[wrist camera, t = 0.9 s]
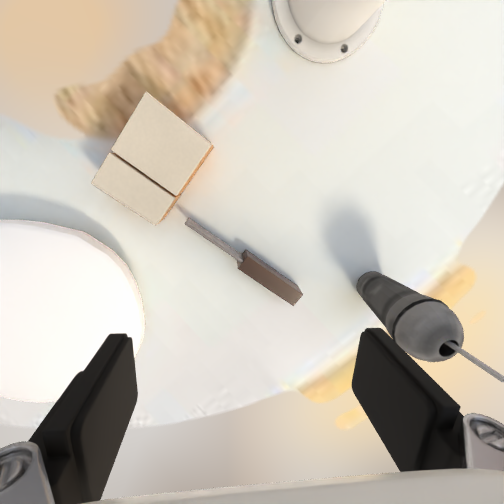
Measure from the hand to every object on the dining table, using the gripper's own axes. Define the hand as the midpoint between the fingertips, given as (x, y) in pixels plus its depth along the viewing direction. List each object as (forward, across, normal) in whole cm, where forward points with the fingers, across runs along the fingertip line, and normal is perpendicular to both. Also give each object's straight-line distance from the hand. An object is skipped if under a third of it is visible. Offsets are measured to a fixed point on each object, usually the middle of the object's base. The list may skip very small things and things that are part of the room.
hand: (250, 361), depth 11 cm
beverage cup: (+28, -22, +9) cm, 36 cm away
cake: (+27, +8, -10) cm, 30 cm away
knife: (+27, -2, +4) cm, 28 cm away
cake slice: (+27, +11, -5) cm, 30 cm away
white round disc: (+28, +25, +12) cm, 40 cm away
